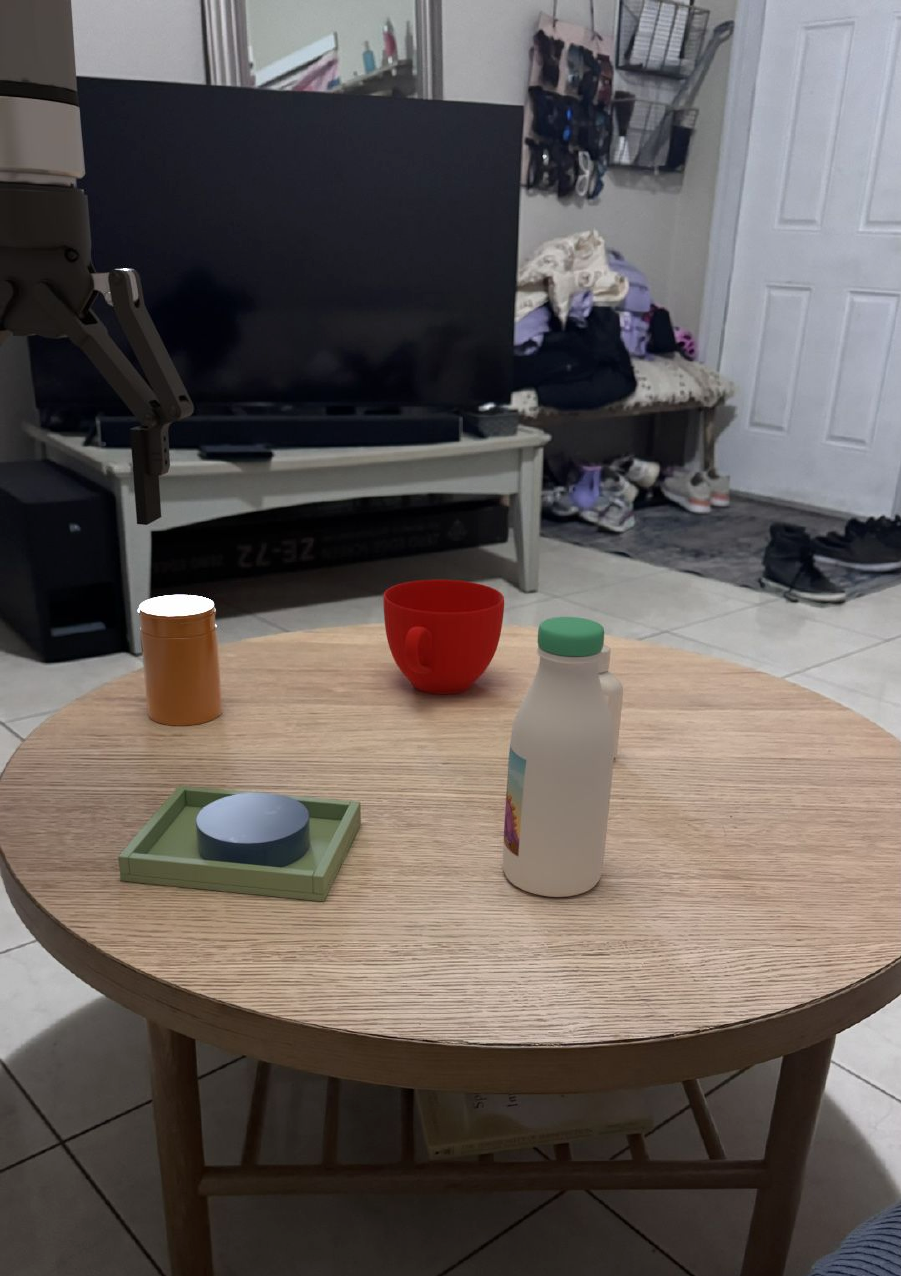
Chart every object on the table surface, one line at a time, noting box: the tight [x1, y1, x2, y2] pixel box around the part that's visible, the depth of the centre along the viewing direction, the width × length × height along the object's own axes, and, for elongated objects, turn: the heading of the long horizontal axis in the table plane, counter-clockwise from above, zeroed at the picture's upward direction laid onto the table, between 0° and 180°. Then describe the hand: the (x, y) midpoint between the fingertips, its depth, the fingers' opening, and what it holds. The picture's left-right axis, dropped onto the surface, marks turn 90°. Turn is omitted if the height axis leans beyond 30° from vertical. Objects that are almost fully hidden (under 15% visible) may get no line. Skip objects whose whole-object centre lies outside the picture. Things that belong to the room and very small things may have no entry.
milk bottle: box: [502, 616, 615, 898], centre depth 82 cm, size 8×8×20 cm
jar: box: [137, 594, 223, 727], centre depth 112 cm, size 7×7×11 cm
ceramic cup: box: [382, 579, 505, 695], centre depth 120 cm, size 13×17×10 cm
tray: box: [117, 784, 362, 902], centre depth 88 cm, size 16×13×2 cm
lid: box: [196, 792, 310, 868], centre depth 87 cm, size 9×9×2 cm
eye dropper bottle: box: [598, 642, 624, 759], centre depth 105 cm, size 4×6×12 cm
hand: (60, 513), depth 82 cm, fingers open, 13 cm apart
